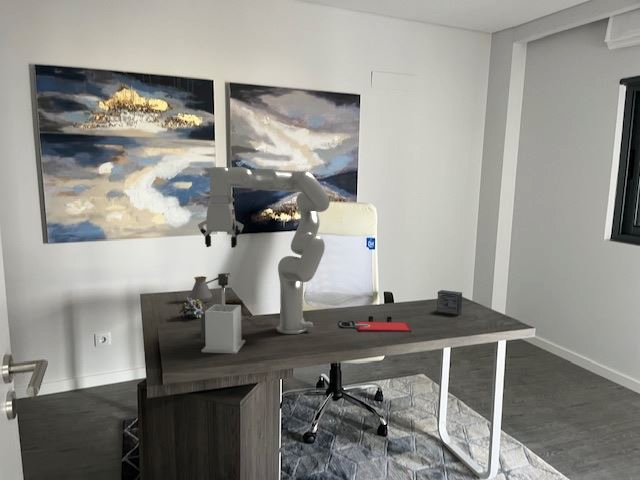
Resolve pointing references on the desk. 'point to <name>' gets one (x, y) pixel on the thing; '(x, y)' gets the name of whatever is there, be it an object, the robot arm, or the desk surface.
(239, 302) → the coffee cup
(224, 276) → the plunger
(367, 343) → the desk surface
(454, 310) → the small box
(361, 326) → the red board with handle
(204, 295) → the coffee pot
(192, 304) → the passion flower
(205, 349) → the press housing
